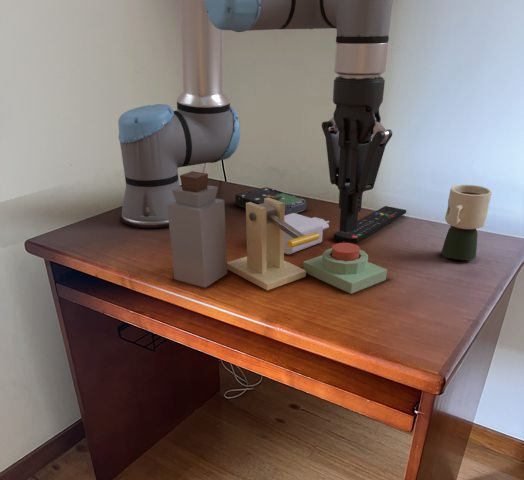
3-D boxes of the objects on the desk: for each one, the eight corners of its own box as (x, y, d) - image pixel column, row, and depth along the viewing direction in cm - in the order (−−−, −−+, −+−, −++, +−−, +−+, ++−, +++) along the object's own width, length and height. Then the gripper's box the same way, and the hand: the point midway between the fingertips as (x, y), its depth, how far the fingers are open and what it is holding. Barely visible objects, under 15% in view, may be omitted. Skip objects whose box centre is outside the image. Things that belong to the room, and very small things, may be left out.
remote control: (405, 215, 126) (406, 210, 126) (355, 246, 110) (355, 240, 109) (384, 211, 129) (385, 205, 128) (332, 241, 113) (332, 234, 112)
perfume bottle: (204, 287, 94) (197, 182, 85) (174, 279, 97) (164, 176, 88) (227, 274, 99) (223, 172, 90) (197, 266, 102) (190, 167, 93)
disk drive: (234, 206, 134) (275, 219, 124) (234, 194, 132) (275, 207, 123) (266, 197, 140) (307, 210, 130) (266, 186, 138) (307, 198, 129)
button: (325, 256, 97) (326, 246, 96) (344, 249, 99) (345, 240, 98) (345, 264, 93) (346, 254, 92) (364, 257, 96) (365, 248, 95)
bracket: (306, 276, 98) (308, 206, 91) (267, 290, 93) (266, 217, 86) (264, 256, 106) (263, 190, 99) (226, 268, 101) (223, 200, 94)
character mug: (451, 245, 110) (463, 180, 104) (486, 253, 107) (501, 186, 100) (428, 261, 103) (439, 193, 96) (464, 271, 99) (479, 200, 93)
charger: (341, 237, 115) (291, 256, 106) (309, 226, 120) (259, 243, 112) (343, 215, 112) (292, 232, 104) (310, 205, 118) (259, 221, 109)
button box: (302, 271, 100) (303, 251, 98) (337, 259, 104) (338, 239, 102) (350, 294, 92) (352, 272, 90) (386, 279, 97) (388, 258, 94)
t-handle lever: (318, 243, 90) (320, 230, 89) (290, 252, 87) (293, 239, 85) (272, 212, 97) (274, 200, 95) (245, 219, 94) (247, 207, 92)
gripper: (411, 76, 79) (392, 234, 91) (345, 71, 87) (336, 215, 100) (376, 80, 75) (361, 245, 87) (310, 74, 83) (306, 224, 96)
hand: (348, 229), depth 93 cm, fingers closed
